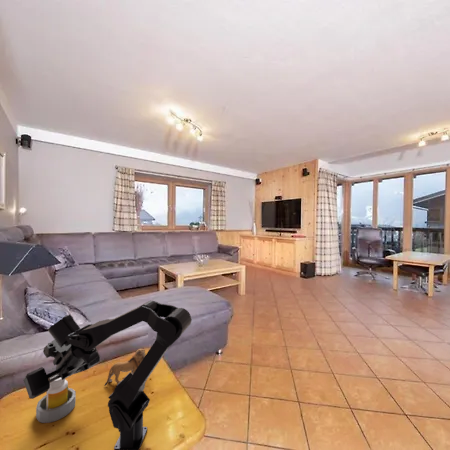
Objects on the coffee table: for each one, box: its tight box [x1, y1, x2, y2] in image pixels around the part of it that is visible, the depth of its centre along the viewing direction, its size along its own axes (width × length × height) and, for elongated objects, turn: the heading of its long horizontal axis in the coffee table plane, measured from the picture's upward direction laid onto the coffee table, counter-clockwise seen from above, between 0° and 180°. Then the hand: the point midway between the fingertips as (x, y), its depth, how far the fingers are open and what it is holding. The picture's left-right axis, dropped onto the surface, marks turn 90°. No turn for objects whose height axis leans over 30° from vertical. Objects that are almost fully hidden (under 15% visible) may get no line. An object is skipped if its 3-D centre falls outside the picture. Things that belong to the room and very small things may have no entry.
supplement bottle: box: [45, 375, 69, 410], centre depth 72 cm, size 5×5×10 cm
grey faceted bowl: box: [35, 387, 77, 424], centre depth 72 cm, size 10×10×3 cm
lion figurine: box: [103, 348, 147, 386], centre depth 87 cm, size 15×5×9 cm, turn 132°
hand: (55, 381), depth 72 cm, fingers open, 9 cm apart
